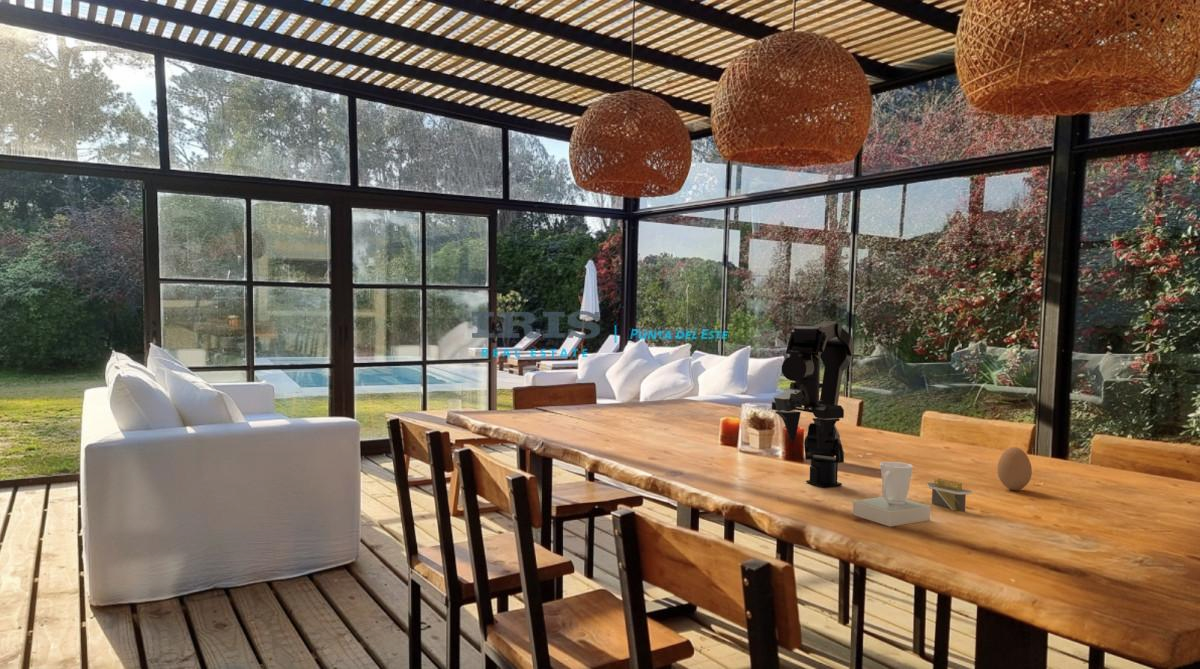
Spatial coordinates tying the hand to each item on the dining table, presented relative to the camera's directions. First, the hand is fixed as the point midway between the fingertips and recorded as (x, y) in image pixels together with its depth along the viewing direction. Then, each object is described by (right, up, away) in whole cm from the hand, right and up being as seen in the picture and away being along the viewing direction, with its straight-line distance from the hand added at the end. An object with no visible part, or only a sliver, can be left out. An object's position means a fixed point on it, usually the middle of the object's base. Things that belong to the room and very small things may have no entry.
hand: (805, 444), depth 176 cm
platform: (+30, -14, -8) cm, 34 cm away
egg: (+56, -14, +11) cm, 59 cm away
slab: (+13, -13, -17) cm, 26 cm away
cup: (+14, -10, -18) cm, 25 cm away
